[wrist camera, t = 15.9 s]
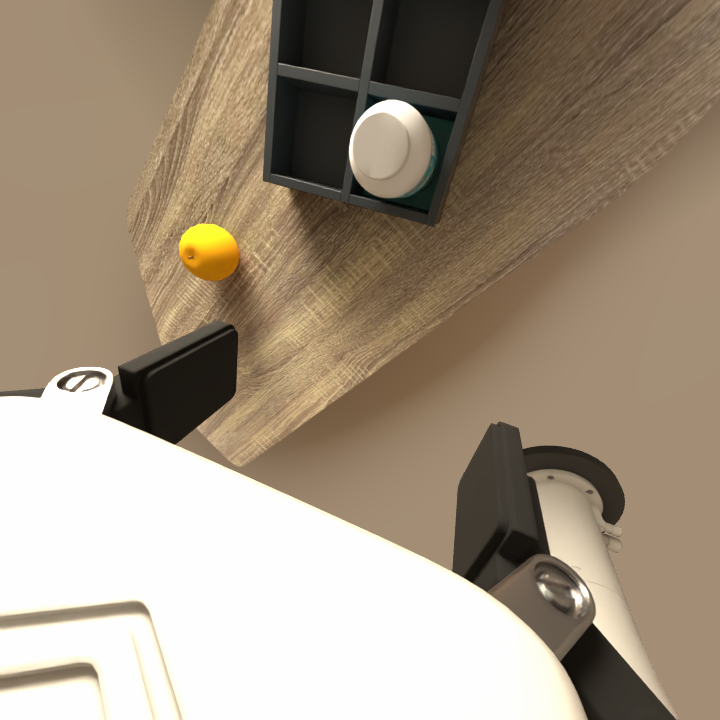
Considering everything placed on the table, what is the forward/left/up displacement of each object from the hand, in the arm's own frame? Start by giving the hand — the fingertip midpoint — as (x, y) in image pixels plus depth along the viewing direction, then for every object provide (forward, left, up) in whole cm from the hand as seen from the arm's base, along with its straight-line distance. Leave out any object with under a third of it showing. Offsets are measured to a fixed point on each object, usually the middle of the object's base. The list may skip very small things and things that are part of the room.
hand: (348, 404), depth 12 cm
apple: (+32, +8, -36) cm, 49 cm away
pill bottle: (+7, -9, -35) cm, 37 cm away
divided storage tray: (+12, -14, -36) cm, 40 cm away
